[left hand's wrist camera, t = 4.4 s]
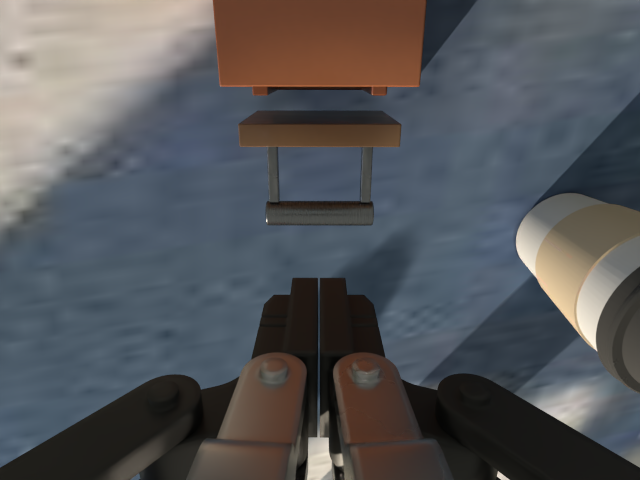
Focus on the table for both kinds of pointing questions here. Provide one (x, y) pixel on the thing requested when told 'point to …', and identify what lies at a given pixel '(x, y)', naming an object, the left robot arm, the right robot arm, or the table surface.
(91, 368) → the table surface
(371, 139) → the drawer
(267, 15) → the cabinet
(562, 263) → the coffee cup
